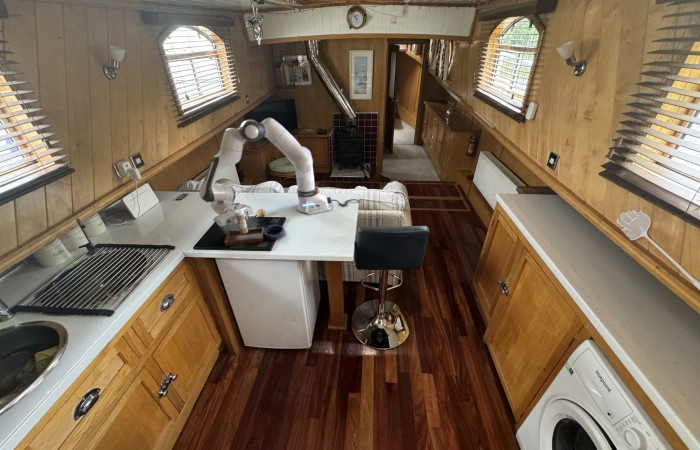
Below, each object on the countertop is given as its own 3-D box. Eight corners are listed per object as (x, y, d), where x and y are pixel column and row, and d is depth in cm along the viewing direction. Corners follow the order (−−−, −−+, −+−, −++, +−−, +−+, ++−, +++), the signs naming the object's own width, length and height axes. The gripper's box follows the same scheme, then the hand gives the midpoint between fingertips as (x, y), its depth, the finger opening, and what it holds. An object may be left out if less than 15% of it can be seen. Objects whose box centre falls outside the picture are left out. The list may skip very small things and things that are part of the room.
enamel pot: (284, 227, 169) (283, 223, 167) (284, 240, 158) (283, 235, 156) (265, 229, 167) (264, 225, 166) (264, 242, 156) (263, 237, 154)
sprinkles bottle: (238, 231, 159) (233, 210, 151) (246, 228, 161) (241, 208, 154) (241, 235, 155) (235, 213, 148) (249, 232, 157) (244, 211, 150)
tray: (264, 230, 166) (264, 226, 165) (263, 241, 157) (262, 238, 155) (229, 234, 164) (228, 230, 162) (225, 246, 154) (224, 242, 152)
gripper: (209, 214, 153) (222, 222, 145) (243, 201, 166) (256, 208, 158) (212, 224, 156) (225, 233, 148) (246, 210, 169) (259, 218, 161)
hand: (241, 220), depth 153 cm, fingers closed on sprinkles bottle, 4 cm apart
